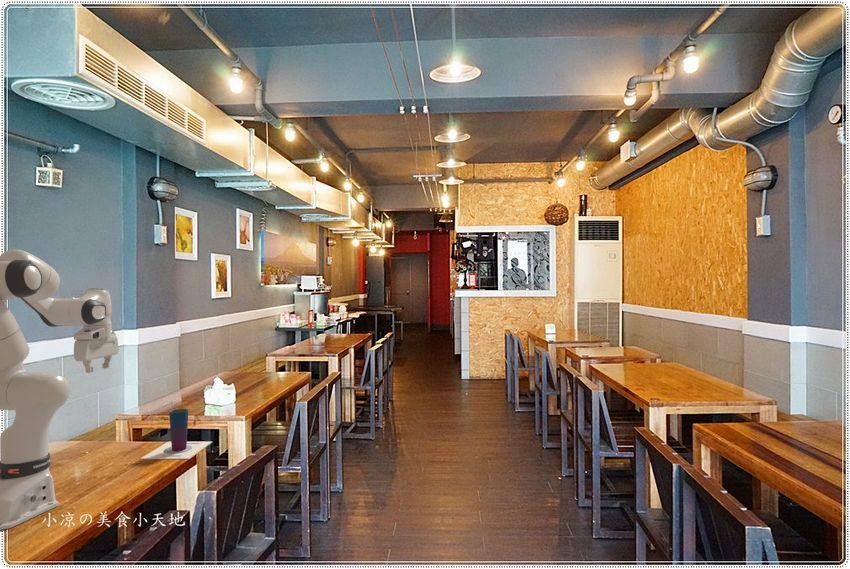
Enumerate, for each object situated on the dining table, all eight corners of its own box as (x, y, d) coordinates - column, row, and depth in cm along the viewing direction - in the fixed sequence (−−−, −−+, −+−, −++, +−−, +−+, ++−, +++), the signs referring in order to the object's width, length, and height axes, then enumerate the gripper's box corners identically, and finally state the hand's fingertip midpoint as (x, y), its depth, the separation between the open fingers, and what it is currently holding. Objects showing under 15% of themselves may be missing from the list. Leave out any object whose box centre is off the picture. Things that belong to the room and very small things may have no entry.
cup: (169, 448, 201) (168, 409, 201) (188, 445, 204) (188, 407, 204) (169, 453, 195) (169, 413, 195) (189, 450, 198) (189, 411, 198)
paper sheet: (189, 459, 190) (189, 458, 190) (140, 459, 190) (140, 458, 190) (212, 442, 210) (212, 441, 210) (168, 442, 210) (168, 441, 210)
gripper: (107, 330, 201) (107, 365, 201) (69, 335, 180) (70, 375, 180) (123, 330, 200) (123, 365, 200) (87, 335, 180) (88, 375, 180)
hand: (97, 370), depth 190 cm, fingers open, 8 cm apart
